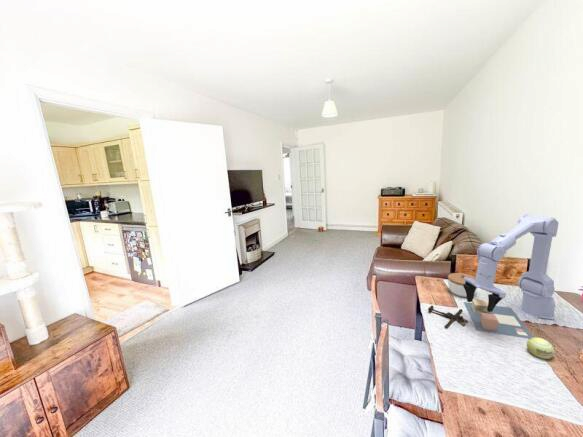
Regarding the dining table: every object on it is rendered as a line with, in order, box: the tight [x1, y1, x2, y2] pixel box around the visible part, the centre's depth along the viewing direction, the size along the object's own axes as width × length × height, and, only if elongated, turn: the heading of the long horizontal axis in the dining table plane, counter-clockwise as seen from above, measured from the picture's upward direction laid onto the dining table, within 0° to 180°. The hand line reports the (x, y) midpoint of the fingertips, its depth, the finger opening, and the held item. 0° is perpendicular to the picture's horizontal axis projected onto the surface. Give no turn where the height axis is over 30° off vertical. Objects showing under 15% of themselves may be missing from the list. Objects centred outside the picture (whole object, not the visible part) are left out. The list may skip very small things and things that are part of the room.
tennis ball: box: [526, 337, 555, 360], centre depth 83 cm, size 6×7×7 cm
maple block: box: [471, 298, 491, 315], centre depth 108 cm, size 6×6×4 cm
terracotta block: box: [480, 313, 498, 331], centre depth 98 cm, size 4×4×4 cm
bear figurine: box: [427, 305, 468, 329], centre depth 107 cm, size 18×4×14 cm
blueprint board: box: [463, 301, 535, 340], centre depth 104 cm, size 18×22×1 cm
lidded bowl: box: [447, 272, 478, 298], centre depth 124 cm, size 13×13×11 cm
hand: (479, 306), depth 97 cm, fingers open, 7 cm apart
